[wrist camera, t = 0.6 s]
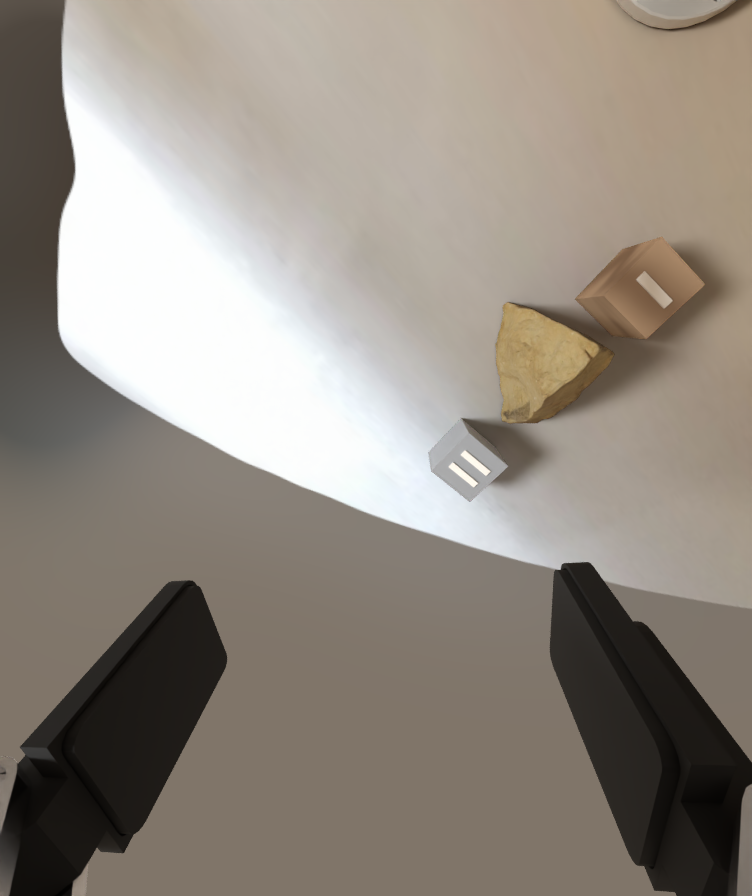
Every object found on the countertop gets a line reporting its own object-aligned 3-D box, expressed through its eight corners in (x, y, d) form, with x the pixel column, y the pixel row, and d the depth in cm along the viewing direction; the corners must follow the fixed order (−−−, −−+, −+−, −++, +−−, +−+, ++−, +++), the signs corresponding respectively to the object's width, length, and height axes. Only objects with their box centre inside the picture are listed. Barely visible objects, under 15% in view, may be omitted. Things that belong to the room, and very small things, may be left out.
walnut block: (621, 249, 30) (663, 236, 25) (660, 290, 31) (708, 285, 26) (574, 299, 31) (604, 295, 27) (612, 337, 32) (648, 340, 27)
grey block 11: (460, 418, 36) (469, 433, 31) (496, 448, 37) (509, 468, 32) (428, 451, 38) (431, 471, 33) (463, 480, 39) (471, 503, 34)
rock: (547, 451, 34) (628, 362, 29) (517, 462, 28) (615, 349, 23) (466, 388, 39) (524, 303, 34) (425, 384, 33) (489, 279, 28)
